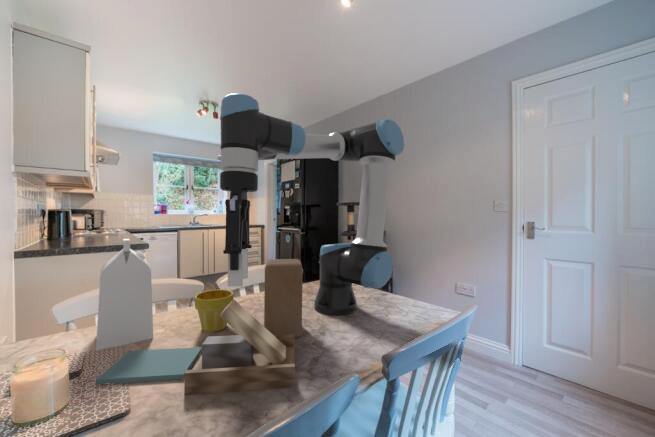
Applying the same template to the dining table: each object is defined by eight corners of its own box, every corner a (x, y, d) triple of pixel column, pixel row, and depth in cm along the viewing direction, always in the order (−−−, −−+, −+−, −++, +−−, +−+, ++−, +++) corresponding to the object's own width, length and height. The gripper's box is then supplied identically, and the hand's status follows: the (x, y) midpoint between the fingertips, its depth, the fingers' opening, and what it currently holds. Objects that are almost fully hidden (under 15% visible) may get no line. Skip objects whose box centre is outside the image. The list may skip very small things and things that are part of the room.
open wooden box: (294, 350, 65) (294, 323, 65) (294, 387, 51) (295, 352, 51) (208, 355, 63) (208, 326, 63) (184, 395, 49) (184, 358, 49)
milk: (99, 333, 74) (99, 238, 73) (149, 323, 81) (150, 237, 80) (96, 351, 64) (96, 242, 64) (153, 338, 71) (153, 240, 71)
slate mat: (202, 351, 64) (202, 347, 64) (183, 379, 54) (183, 374, 54) (129, 355, 62) (129, 350, 62) (95, 384, 51) (95, 379, 51)
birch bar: (278, 354, 60) (286, 346, 61) (276, 367, 55) (285, 358, 56) (225, 307, 59) (233, 299, 59) (219, 315, 54) (228, 306, 54)
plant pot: (219, 337, 72) (220, 300, 72) (186, 333, 74) (186, 298, 74) (239, 322, 82) (240, 290, 82) (209, 319, 84) (210, 288, 84)
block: (302, 338, 72) (302, 264, 72) (263, 341, 70) (264, 265, 70) (299, 323, 82) (300, 258, 81) (266, 325, 80) (266, 258, 80)
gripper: (230, 177, 65) (230, 272, 65) (206, 162, 47) (205, 295, 47) (262, 178, 66) (261, 272, 66) (251, 164, 48) (249, 294, 48)
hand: (238, 281), depth 57 cm, fingers open, 6 cm apart
